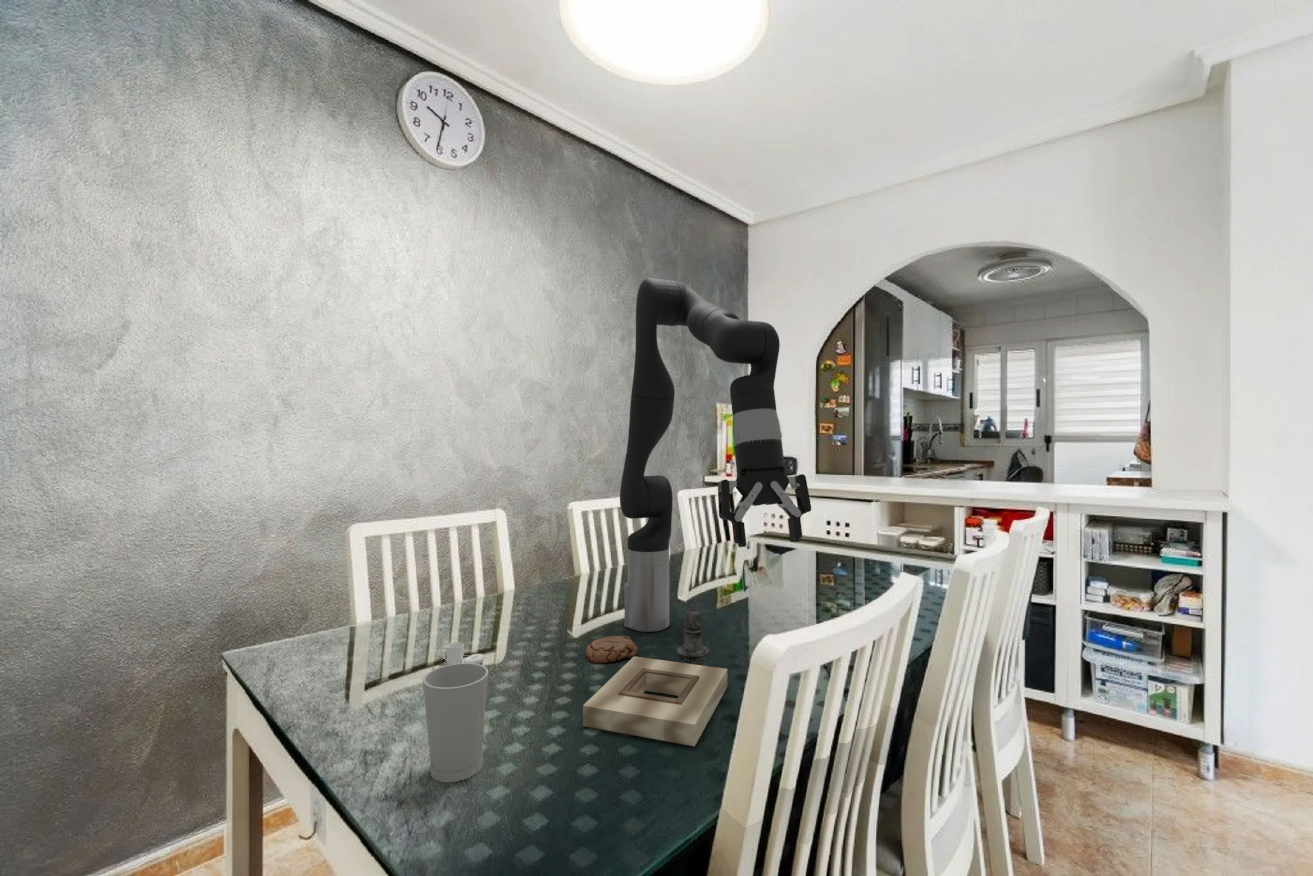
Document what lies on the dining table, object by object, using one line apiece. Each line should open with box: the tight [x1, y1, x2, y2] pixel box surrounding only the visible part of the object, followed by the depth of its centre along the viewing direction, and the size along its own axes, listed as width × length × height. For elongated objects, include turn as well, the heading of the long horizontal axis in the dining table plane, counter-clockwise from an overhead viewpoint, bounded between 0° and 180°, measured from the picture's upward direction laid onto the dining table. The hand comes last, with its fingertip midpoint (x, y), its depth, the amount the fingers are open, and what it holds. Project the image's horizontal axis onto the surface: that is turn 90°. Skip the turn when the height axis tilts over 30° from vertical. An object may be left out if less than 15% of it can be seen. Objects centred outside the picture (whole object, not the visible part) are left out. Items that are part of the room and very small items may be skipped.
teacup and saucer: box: [440, 641, 485, 665], centre depth 109 cm, size 9×8×4 cm
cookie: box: [585, 635, 639, 664], centre depth 114 cm, size 10×11×3 cm
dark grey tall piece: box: [676, 603, 710, 666], centre depth 107 cm, size 6×6×12 cm
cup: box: [422, 662, 489, 783], centre depth 76 cm, size 8×8×12 cm
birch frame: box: [582, 655, 728, 747], centre depth 93 cm, size 17×20×3 cm
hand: (768, 544), depth 91 cm, fingers open, 8 cm apart
